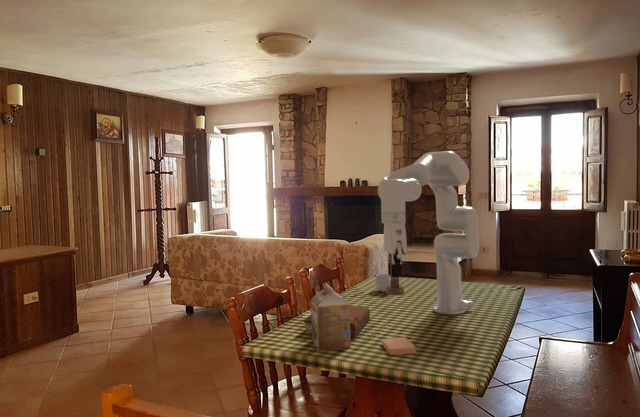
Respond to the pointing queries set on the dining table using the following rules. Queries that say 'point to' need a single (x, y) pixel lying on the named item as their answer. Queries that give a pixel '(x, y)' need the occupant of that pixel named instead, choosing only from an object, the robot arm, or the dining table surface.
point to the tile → (398, 346)
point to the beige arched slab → (357, 320)
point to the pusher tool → (394, 284)
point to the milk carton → (330, 320)
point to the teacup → (383, 281)
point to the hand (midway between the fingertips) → (394, 275)
